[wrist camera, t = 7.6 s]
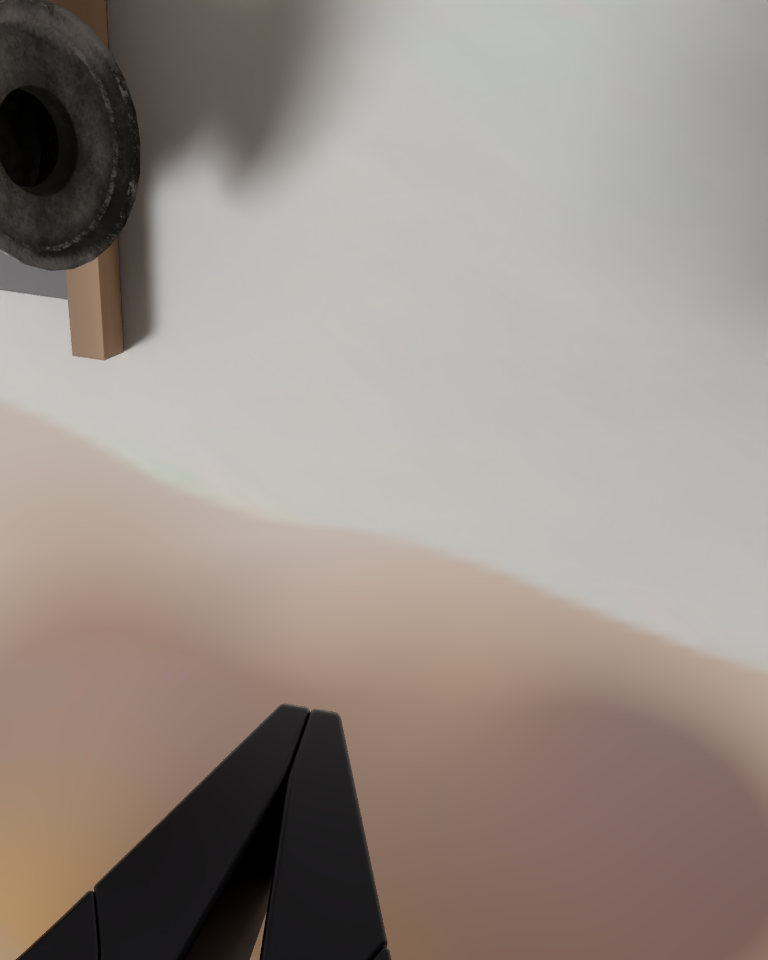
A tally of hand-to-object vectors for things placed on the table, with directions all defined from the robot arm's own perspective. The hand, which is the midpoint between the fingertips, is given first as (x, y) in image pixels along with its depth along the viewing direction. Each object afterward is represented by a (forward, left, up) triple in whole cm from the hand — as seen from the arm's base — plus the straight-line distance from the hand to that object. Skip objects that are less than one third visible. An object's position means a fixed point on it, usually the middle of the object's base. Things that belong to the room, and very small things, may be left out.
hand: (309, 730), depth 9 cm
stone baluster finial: (+8, -7, -8) cm, 13 cm away
